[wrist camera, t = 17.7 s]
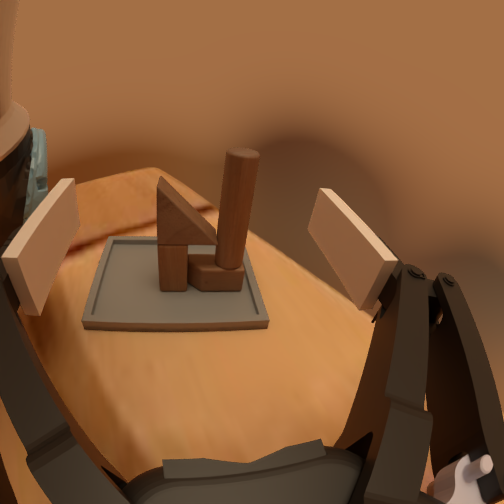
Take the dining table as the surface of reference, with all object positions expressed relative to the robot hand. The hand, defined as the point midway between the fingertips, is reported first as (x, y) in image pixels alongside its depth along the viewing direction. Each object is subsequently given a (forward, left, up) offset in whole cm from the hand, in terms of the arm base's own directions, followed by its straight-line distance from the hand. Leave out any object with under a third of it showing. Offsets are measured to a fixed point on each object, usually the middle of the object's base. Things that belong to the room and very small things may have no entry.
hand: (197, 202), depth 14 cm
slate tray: (-7, +16, -20) cm, 26 cm away
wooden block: (-4, +16, -19) cm, 25 cm away
